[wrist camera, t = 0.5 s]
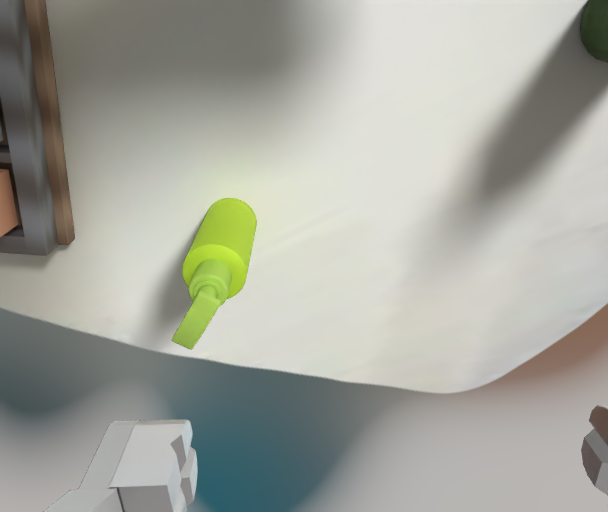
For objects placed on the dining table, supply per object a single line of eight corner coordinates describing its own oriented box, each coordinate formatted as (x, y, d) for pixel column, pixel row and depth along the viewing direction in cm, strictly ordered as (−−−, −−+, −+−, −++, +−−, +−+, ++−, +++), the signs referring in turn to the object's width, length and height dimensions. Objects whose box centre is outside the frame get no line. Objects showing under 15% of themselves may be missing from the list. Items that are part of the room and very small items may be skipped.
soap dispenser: (193, 237, 57) (146, 333, 39) (220, 188, 55) (183, 268, 37) (237, 260, 59) (212, 363, 41) (265, 213, 56) (251, 302, 38)
